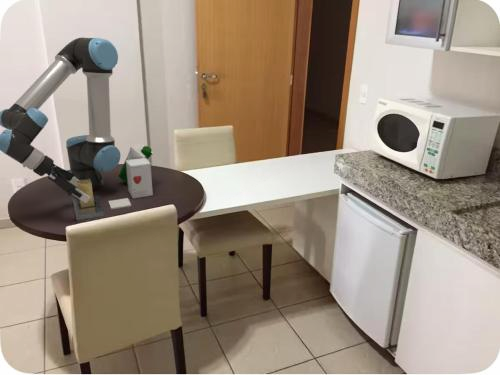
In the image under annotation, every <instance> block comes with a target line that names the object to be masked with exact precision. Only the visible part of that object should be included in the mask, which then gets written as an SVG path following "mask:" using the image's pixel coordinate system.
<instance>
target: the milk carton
mask: <svg viewBox="0 0 500 375" xmlns="http://www.w3.org/2000/svg"><path fill="white" fill-rule="evenodd" d="M153 154H154V151H152V148H151V147H150V146H147V145H145V144H143V143H142V142H139V143H136V144H134V145H131V146H130V148H129V151H128V154H127V155H126V158H125V160H124V163H123V164H122V167H121V169H120V172H119V173H118V176H117V177H118V178H120V179H121V180H122V181H123V182H125V183H126V184H127V185H128V180H127V169H126V160H132V159H140V158H146V159H147V160H148V161H149V162H150V160H151V158H152V156H153Z"/></svg>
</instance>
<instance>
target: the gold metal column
mask: <svg viewBox="0 0 500 375" xmlns="http://www.w3.org/2000/svg"><path fill="white" fill-rule="evenodd" d="M77 185H78V189H79V190H80V191H82V192H83V193H85V194H86V195H88V196H89V197H91V198H90V199H89V200H88V202H87V203H85V202H83V201H82V200H80V205H81V208H80V209H85V208H92V207H96V205H94V198H93V196H94V193H93V190H92V183H91V180H90V179H86V180H78V181H77Z"/></svg>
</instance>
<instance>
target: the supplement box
mask: <svg viewBox="0 0 500 375" xmlns="http://www.w3.org/2000/svg"><path fill="white" fill-rule="evenodd" d="M125 160H126V159H125ZM126 169H127V180H128V184H127V189H128V190H127V191H128V192H129V194H130V196H131V198H132V199H138V198H145V197H149V196H150V197H151V196H153V195H154V192H153V179H152V167H151V162H150V160H149V161H148V160H147V159H146V158H140V159H132V160H126Z"/></svg>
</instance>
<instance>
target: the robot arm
mask: <svg viewBox="0 0 500 375" xmlns="http://www.w3.org/2000/svg"><path fill="white" fill-rule="evenodd" d="M118 62H119V54H118V51H117V49H116V46H115V45H114V44H113V43H112V42H111V41H109V40H108V39H105V38H100V37H77V38H75V39H73V40H71V41H70V42H68V43H67V44H66V45H65V46H64V47H63V48H61V50H59V52H57V54H55V56H54V61H53V62H52V63H51V64H50V65H49V66H48V68H47V69H46V70H44V72H43V73H42V74H41V75H39V77H38V78H37V79H36V80H35V81H34V82H33V83H32V85H30V86H29V87H28V88H27V89H26V90H25V92H23V93H22V95H21V96H20V97H19V98H18V99H17V100H16V101H15V102H14V103H13V104H12V105H11V106H10V107H9V108H5V109H2V110H1V111H0V126H1V127H2V128H4V130H3V131H2V132H0V151H1V152H2V154H5V155H6V156H8V157H9V158H11V159H12V160H14V161H16V162H18V163H19V164H21V165H22V167H23V168H27V169H29V170H31V171H32V172H33V173H35V174H36V175H38V176H40V177H43V176H45V175H47V176H48V177H47V178H48V179H49V180H50V181H51V182H53V183H54V184H55V185H57V186H58V187H59V188H61V190H62V191H64V192H65V193H67V195H68V196H69V197H70V196H71V195H72V196H74V197H76V198H79V199H80V200H82V201H83V202H85V203H87V202H88V200H89V199H90V198H91V197H89V196H88V195H86V194H85V193H83V192H82V191H80V190H79V189H78V185H77V181H78V180H86V179H90V180H91V183H92V191H93V190H96V189H98V188H101V187H103V186H104V178H103V176H102V174H101V172H110V171H112V170H114V169H115V168H116V167H117V166H118V165H119V163H120V161H121V152H120V149H119V148H118V147H117V146H116V145H115V142H116V141H115V140H116V139H115V138H114V137H113V136H112V134H111V132H112V131H111V109H110V107H111V104H110V78H111V76H112V75H113V74H114V72H113V69H114V68H115V67H116V65H117V64H118ZM79 70H82V74H83V75H85V77H86V89H87V110H88V111H87V113H88V131H89V132H88V133H89V134H85V135H78V136H73V137H69V138H68V139H67V140H66V142H65V144H66V145H65V146H66V152H67V157H68V163H69V169H70V170H69V171H68V170H66V169H65V168H62V167H60V166H58V165H56V164H55V163H54V161H55V160H53V158H51V157H49V156H48V155H45V154H44V152H43V151H41V150H39V149H38V148H36V147H34V146H33V145H32V143H33V142H34V140H35V139H36V138H37V137H38V135H39V134H40V133H41V131H42V130H43V129H44V128H45V126H46V125H47V123H48V122H49V118H48V117H47V115H46V114H44V112H43V111H41V110H40V108H41V107H42V106H43V104H45V103H46V102H47V100H48V99H50V97H51V96H52V95H53V94H54V93H55V92H56V91H57V89H58V88H59V87H60V86H61V85H62V84H64V82H65V81H66V80H67V79H68V78H69V77H70V76H71V75H75V74H76V73H78V71H79Z"/></svg>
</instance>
